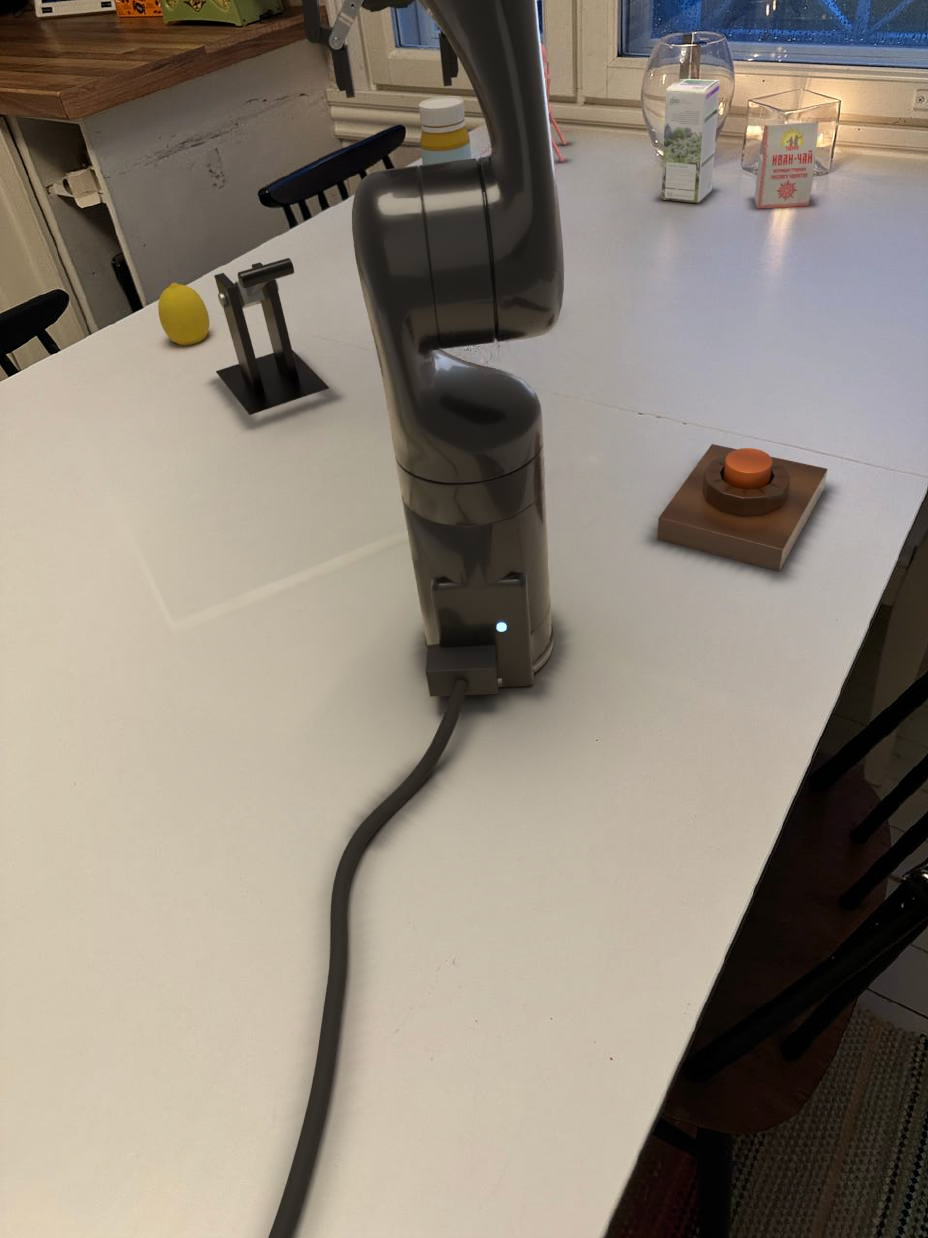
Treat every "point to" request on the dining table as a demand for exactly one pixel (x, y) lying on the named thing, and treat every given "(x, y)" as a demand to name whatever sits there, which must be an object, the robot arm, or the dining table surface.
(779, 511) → the button box
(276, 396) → the bracket
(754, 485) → the button
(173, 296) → the lemon
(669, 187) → the syrup box
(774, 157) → the tea box
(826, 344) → the dining table surface
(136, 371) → the dining table surface
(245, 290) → the lever
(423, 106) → the bottle
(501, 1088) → the dining table surface
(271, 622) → the dining table surface
